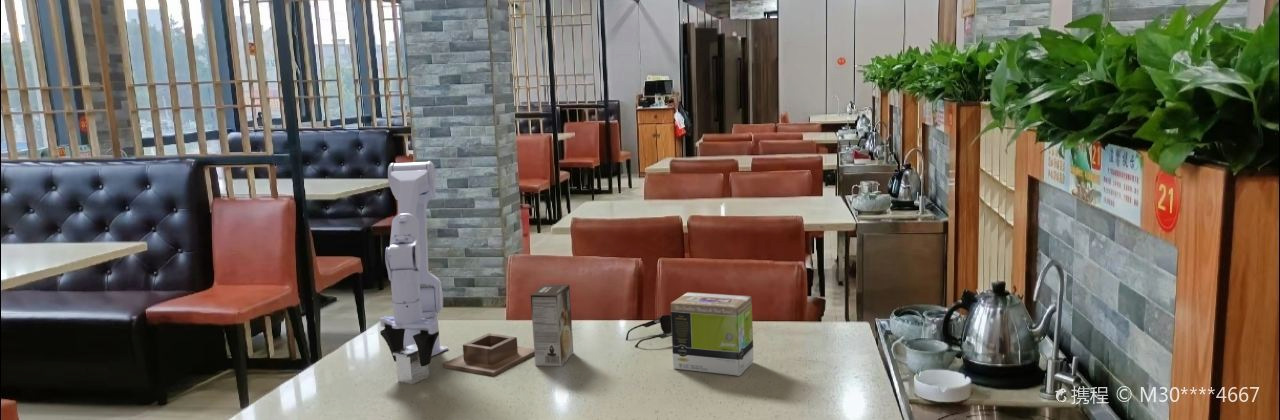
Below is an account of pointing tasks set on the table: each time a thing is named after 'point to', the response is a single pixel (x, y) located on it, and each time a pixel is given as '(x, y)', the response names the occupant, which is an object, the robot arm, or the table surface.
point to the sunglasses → (665, 327)
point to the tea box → (712, 333)
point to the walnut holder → (490, 355)
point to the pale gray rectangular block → (410, 365)
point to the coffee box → (552, 325)
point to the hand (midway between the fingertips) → (412, 362)
